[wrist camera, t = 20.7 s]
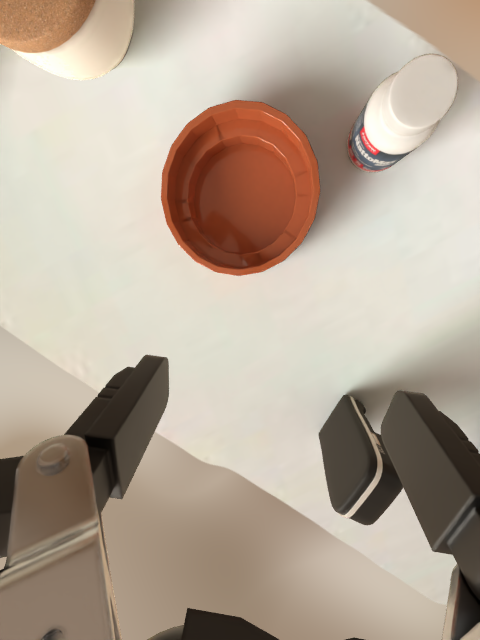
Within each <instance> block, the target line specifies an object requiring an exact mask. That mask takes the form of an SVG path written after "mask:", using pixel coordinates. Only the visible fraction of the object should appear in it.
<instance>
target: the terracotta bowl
mask: <svg viewBox="0 0 480 640" xmlns="http://www.w3.org/2000/svg"><path fill="white" fill-rule="evenodd" d="M319 195H320V181H319V171H318V162H317V159H316V157H315V155H314V152H313V150H312V148H311V146H310V143H309V141H308V139H307V136H306V135H305V134H304V133H303V132H302V130H301V129H300V128H299V127H298V126H297V125H296V124H295V123H294V122H293V121H292V120H291V119H290V118H289V116H288V115H286V114H285V113H283V112H281V111H279V110H277V109H275V108H273V107H271V106H269V105H267V104H265V103H262V102H253V101H241V100H234V101H230V102H227V103H224V104H220V105H217V106H213V107H210V108H208V109H207V110H205V111H204V112H203V113H201V114H200V115H198V116H197V117H196V118H194V119H193V120H192V121H190V122H189V123H188V124H187V125H186V126H185V127H184V129H183V130H182V132H181V133H180V134H179V136H178V137H177V139H176V140H175V141H174V143H173V144H172V147H171V148H170V151H169V154H168V157H167V160H166V163H165V166H164V169H163V172H162V190H161V201H162V205H163V209H164V214H165V218H166V222H167V225H168V227H169V228H170V230H171V232H172V234H173V236H174V238H175V239H176V241H177V243H178V245H179V246H180V247H181V248H182V249H183V250H184V251H185V252H186V253H187V254H188V255H189V256H190V257H191V258H192V259H193V260H194V261H196V262H197V263H199V264H201V265H203V266H205V267H207V268H209V269H211V270H213V271H215V272H218V273H224V274H230V275H237V276H241V275H247V274H253V273H259V272H263V271H265V270H267V269H269V268H271V267H273V266H275V265H276V264H278V263H280V262H282V261H284V260H285V259H286V258H287V257H288V256H289V255H290V254H291V253H292V252H293V251H294V250H295V249H296V248H297V247H298V246H299V245H300V244H301V243H302V242H303V240H304V238H305V236H306V234H307V232H308V230H309V228H310V227H311V225H312V223H313V221H314V219H315V215H316V210H317V205H318V200H319Z"/></svg>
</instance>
